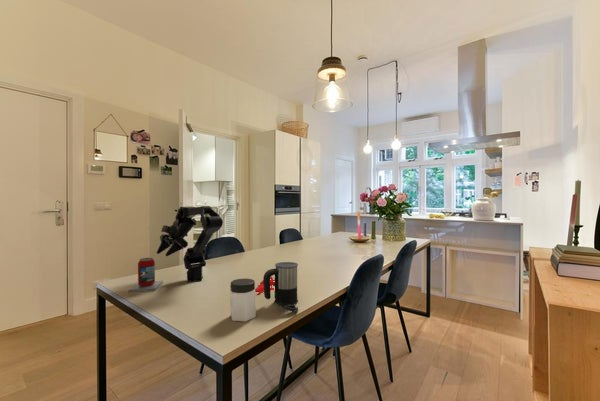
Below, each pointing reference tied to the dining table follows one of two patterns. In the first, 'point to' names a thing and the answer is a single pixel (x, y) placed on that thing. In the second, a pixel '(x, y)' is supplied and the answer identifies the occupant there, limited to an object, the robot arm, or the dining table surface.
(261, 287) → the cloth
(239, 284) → the jar
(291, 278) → the milk frother
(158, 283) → the trivet
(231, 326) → the dining table surface
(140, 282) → the beverage can
